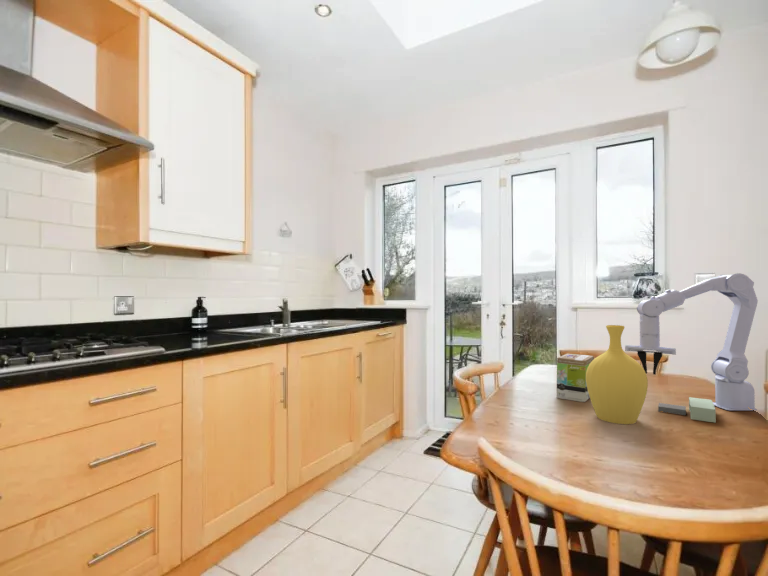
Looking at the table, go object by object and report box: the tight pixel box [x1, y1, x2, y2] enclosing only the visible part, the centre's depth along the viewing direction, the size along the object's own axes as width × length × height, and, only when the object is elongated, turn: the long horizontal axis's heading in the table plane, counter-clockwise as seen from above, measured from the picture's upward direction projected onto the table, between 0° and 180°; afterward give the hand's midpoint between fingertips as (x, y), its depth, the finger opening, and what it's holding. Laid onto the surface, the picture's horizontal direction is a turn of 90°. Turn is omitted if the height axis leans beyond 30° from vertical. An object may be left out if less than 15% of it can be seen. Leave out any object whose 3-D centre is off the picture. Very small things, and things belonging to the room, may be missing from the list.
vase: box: [586, 324, 649, 425], centre depth 118 cm, size 16×16×28 cm
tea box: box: [556, 353, 595, 403], centre depth 144 cm, size 15×10×15 cm, turn 143°
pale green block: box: [688, 396, 717, 424], centre depth 121 cm, size 6×13×4 cm, turn 144°
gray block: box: [657, 402, 687, 416], centre depth 126 cm, size 7×5×2 cm
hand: (650, 373), depth 136 cm, fingers closed
